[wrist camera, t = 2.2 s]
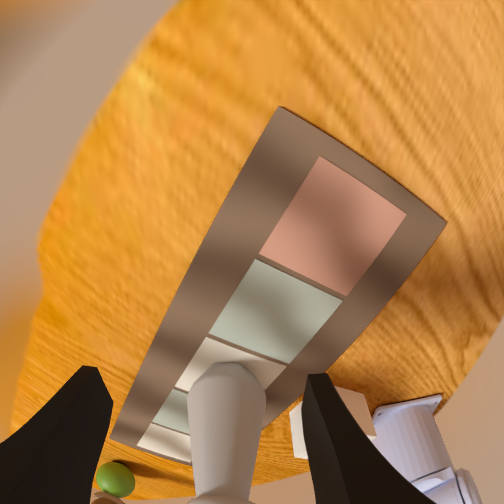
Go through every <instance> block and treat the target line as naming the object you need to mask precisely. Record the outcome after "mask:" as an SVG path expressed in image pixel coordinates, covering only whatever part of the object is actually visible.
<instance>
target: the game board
mask: <svg viewBox="0 0 504 504" xmlns="http://www.w3.org/2000/svg"><path fill="white" fill-rule="evenodd" d="M446 224H447V223H446V222H445V221H444V220H443V219H442V218H440V217H439V216H438V215H437V214H436V213H434V212H433V211H432V210H431V209H430V208H428V207H427V206H426V205H425V204H423V203H422V202H421V201H420V200H419V199H417V198H416V197H415V196H413V195H412V194H411V193H410V192H408V191H407V190H406V189H404V188H403V187H402V186H401V185H399V184H398V183H397V182H395V181H394V180H393V179H391V178H390V177H388V176H387V175H386V174H384V173H383V172H382V171H380V170H379V169H377V168H376V167H375V166H373V165H372V164H370V163H369V162H368V161H366V160H365V159H363V158H362V157H360V156H359V155H357V154H356V153H354V152H353V151H351V150H350V149H348V148H347V147H345V146H344V145H342V144H341V143H339V142H338V141H336V140H335V139H333V138H332V137H330V136H328V135H327V134H325V133H324V132H322V131H320V130H319V129H317V128H316V127H314V126H312V125H311V124H309V123H307V122H306V121H304V120H302V119H301V118H299V117H297V116H295V115H294V114H292V113H290V112H288V111H287V110H285V109H283V108H281V107H280V106H278V108H277V109H276V111H275V113H274V114H273V116H272V118H271V119H270V121H269V123H268V124H267V126H266V128H265V130H264V131H263V133H262V135H261V136H260V138H259V140H258V142H257V143H256V145H255V147H254V149H253V150H252V152H251V154H250V156H249V157H248V159H247V161H246V163H245V164H244V166H243V168H242V170H241V171H240V173H239V175H238V177H237V179H236V180H235V182H234V184H233V186H232V188H231V189H230V191H229V193H228V195H227V197H226V199H225V200H224V202H223V204H222V206H221V208H220V210H219V212H218V213H217V215H216V217H215V219H214V221H213V223H212V225H211V226H210V228H209V230H208V232H207V234H206V236H205V238H204V240H203V242H202V243H201V245H200V247H199V249H198V251H197V253H196V255H195V257H194V259H193V261H192V263H191V265H190V267H189V269H188V271H187V273H186V275H185V276H184V278H183V280H182V282H181V284H180V286H179V288H178V290H177V292H176V294H175V296H174V298H173V300H172V302H171V304H170V306H169V309H168V311H167V313H166V315H165V317H164V319H163V321H162V323H161V325H160V327H159V329H158V331H157V333H156V335H155V337H154V340H153V342H152V344H151V346H150V348H149V350H148V352H147V354H146V357H145V359H144V361H143V363H142V365H141V367H140V369H139V372H138V374H137V376H136V378H135V380H134V383H133V385H132V387H131V389H130V392H129V394H128V396H127V398H126V401H125V403H124V405H123V407H122V410H121V412H120V414H119V416H118V419H117V421H116V423H115V426H114V428H113V430H112V433H111V435H110V438H109V439H112V440H114V441H117V442H119V443H122V444H124V445H127V446H130V447H133V448H135V449H138V450H141V451H144V452H147V453H150V454H153V455H156V456H159V457H162V458H165V459H169V460H172V461H175V462H179V463H182V464H186V465H190V466H193V464H192V455H191V444H190V433H189V421H188V407H187V395H188V393H189V391H190V389H191V387H192V385H193V383H194V382H195V381H196V380H197V379H198V378H199V377H200V376H201V375H202V374H203V373H204V372H205V371H206V370H207V369H208V368H209V367H210V366H211V365H212V364H213V363H239V364H241V365H242V366H243V367H245V368H246V369H247V370H249V371H250V372H251V373H253V374H254V375H255V377H256V378H257V380H258V382H259V383H260V385H261V386H262V388H263V389H264V391H265V394H266V409H265V414H264V420H263V425H262V429H264V428H265V427H266V426H267V425H268V424H269V423H271V422H272V421H273V420H274V419H275V418H276V417H277V416H278V415H280V414H281V413H282V412H283V411H284V410H285V409H286V408H287V407H288V406H290V405H291V404H292V403H293V402H294V401H295V400H296V399H297V398H298V397H299V396H300V395H301V394H302V393H303V392H304V391H305V386H306V380H307V375H308V374H319V373H324V372H325V371H326V370H327V369H328V368H329V367H330V366H331V365H332V364H333V363H334V362H335V361H336V359H337V358H338V357H339V356H340V355H341V354H342V353H343V352H344V351H345V350H346V349H347V348H348V347H349V346H350V345H351V344H352V342H353V341H354V340H355V339H356V338H357V337H358V336H359V335H360V334H361V333H362V331H363V330H364V329H365V328H366V327H367V326H368V325H369V323H370V322H371V321H372V320H373V319H374V318H375V317H376V315H377V314H378V313H379V312H380V311H381V310H382V308H383V307H384V306H385V305H386V304H387V302H388V301H389V300H390V299H391V297H392V296H393V295H394V294H395V293H396V291H397V290H398V289H399V288H400V286H401V285H402V284H403V283H404V281H405V280H406V279H407V277H408V276H409V275H410V274H411V272H412V271H413V270H414V268H415V267H416V266H417V264H418V263H419V262H420V260H421V259H422V258H423V256H424V255H425V254H426V252H427V251H428V250H429V248H430V247H431V245H432V244H433V243H434V241H435V240H436V238H437V237H438V235H439V234H440V233H441V231H442V230H443V228H444V227H445V225H446Z"/></svg>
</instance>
